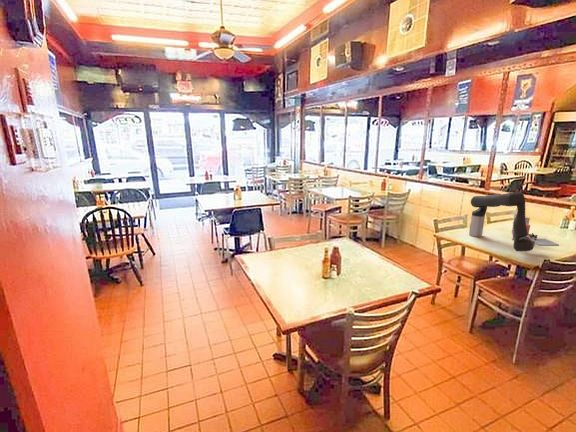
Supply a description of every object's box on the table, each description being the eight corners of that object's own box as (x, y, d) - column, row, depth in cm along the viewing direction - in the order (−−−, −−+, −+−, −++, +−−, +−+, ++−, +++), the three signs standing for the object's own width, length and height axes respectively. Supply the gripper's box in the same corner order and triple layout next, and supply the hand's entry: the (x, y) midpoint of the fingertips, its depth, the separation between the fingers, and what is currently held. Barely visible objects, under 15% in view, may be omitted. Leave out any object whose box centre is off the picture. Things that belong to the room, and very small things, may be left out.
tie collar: (510, 239, 248) (510, 236, 247) (523, 239, 247) (524, 236, 246) (520, 244, 236) (521, 241, 235) (534, 244, 235) (534, 241, 235)
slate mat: (526, 239, 247) (526, 238, 246) (545, 239, 246) (545, 238, 245) (539, 245, 233) (539, 244, 233) (558, 245, 232) (558, 244, 232)
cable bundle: (517, 241, 243) (520, 224, 239) (524, 241, 243) (527, 223, 239) (521, 243, 238) (524, 225, 234) (528, 243, 238) (532, 225, 234)
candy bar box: (511, 232, 263) (514, 214, 258) (517, 232, 262) (520, 214, 258) (520, 237, 252) (523, 217, 248) (526, 237, 252) (530, 217, 247)
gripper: (538, 235, 211) (538, 230, 224) (512, 232, 220) (514, 227, 232) (536, 246, 213) (536, 239, 226) (511, 242, 222) (512, 236, 234)
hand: (525, 233), depth 229 cm, fingers open, 8 cm apart
